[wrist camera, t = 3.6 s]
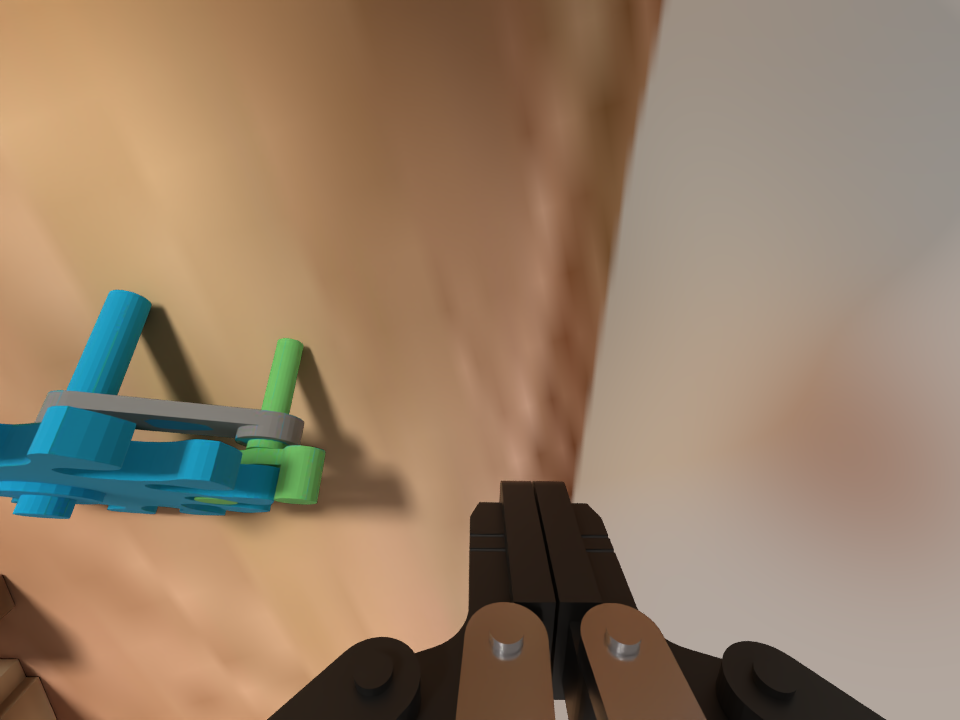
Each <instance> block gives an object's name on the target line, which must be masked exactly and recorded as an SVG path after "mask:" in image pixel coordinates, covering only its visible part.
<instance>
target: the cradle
mask: <svg viewBox="0 0 960 720" xmlns="http://www.w3.org/2000/svg"><path fill="white" fill-rule="evenodd" d="M14 607H15V605H14V602H13V600H12V598H11V595H10V593H9V591H8V588H7V586H6V583H5V581H4V579H3V576H2V575H0V619H1V618H2V617H4V616H5V615H6V614H7V613H8V612H9V611H10V610H11V609H12V608H14Z"/></svg>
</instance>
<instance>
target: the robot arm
mask: <svg viewBox="0 0 960 720" xmlns="http://www.w3.org/2000/svg"><path fill="white" fill-rule="evenodd" d="M554 700H565V702H566V708H567V713H568V719H569V720H886V719H884V718H883V717H881V716H880V715H878V714H877V713H875V712H874V711H872V710H871V709H869V708H867V707H866V706H864V705H863V704H861V703H860V702H858V701H857V700H855V699H854V698H852V697H851V696H849V695H848V694H846V693H845V692H843V691H842V690H840V689H839V688H837V687H836V686H834V685H833V684H831V683H830V682H828V681H827V680H825V679H824V678H822V677H820V676H819V675H818V674H816V673H815V672H813V671H812V670H810V669H808V668H807V667H805V666H804V665H802V664H801V663H799V662H798V661H796V660H795V659H793V658H792V657H790V656H789V655H787V654H785V653H783V652H782V651H780V650H778V649H776V648H774V647H771V646H769V645H766V644H762V643H758V642H752V641H742V642H738V643H734V644H732V645H731V646H729V647H728V648H727V649H726V651H725V652H724V654H723V658H722V659H720V658H717V657H713V656H710V655H707V654H703V653H700V652H697V651H693V650H690V649H687V648H684V647H681V646H678V645H676V644H674V643H672V642H670V641H668V640H666V639H665V638H664V636H663V634H662V633H661V631H660V629H659V628H658V627H657V626H656V624H655V623H654V622H653V621H652V620H651V619H650V618H648V617H647V616H646V615H645V614H643V613H641V612H640V611H638V609H637V607H636V604H635V602H634V599H633V596H632V594H631V592H630V589H629V587H628V584H627V581H626V579H625V576H624V574H623V571H622V569H621V566H620V564H619V561H618V559H617V557H616V554H615V553H614V549H613V546H612V544H611V542H610V539H609V538H608V534H607V531H606V529H605V526H604V524H603V521H602V519H601V517H600V516H599V515H598V514H597V513H596V512H595V511H594V510H593V509H592V508H591V507H590V506H589V505H588V504H583V503H579V504H578V503H571V502H570V499H569V496H568V492H567V489H566V486H565V483H564V482H553V481H533V482H531V481H501V483H500V501H499V503H492V502H479V504H478V505H477V507H476V508H475V510H474V511H473V513H472V515H471V516H470V551H469V612H468V616H467V619H466V621H465V623H464V625H463V626H462V628H461V629H460V631H459V632H458V633H457V634H456V635H455V636H454V637H452V638H451V639H450V640H448V641H447V642H445V643H443V644H441V645H439V646H436V647H433V648H430V649H427V650H424V651H421V652H417V653H414V652H413V650H412V649H411V648H410V647H409V646H408V645H406V644H405V643H403V642H402V641H399V640H397V639H393V638H389V637H376V638H371V639H367V640H364V641H361V642H359V643H357V644H355V645H354V646H352V647H350V648H349V649H348V650H347V651H345V652H344V653H343V654H342V655H341V656H339V657H338V658H337V659H336V660H335V661H334V662H333V663H331V664H330V665H329V666H328V667H327V668H326V669H325V670H323V671H322V672H321V673H320V674H319V675H318V676H317V677H315V678H314V679H313V680H312V681H311V682H310V683H309V684H307V685H306V686H305V687H304V688H303V689H302V690H301V691H299V692H298V693H297V694H296V695H295V696H294V697H293V698H291V699H290V700H289V701H288V702H287V703H286V704H285V705H283V706H282V707H281V708H280V709H279V710H278V711H276V712H275V713H274V714H273V715H272V716H271V717H270V718H268V719H267V720H555V712H554Z"/></svg>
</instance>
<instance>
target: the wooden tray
mask: <svg viewBox="0 0 960 720" xmlns="http://www.w3.org/2000/svg"><path fill="white" fill-rule="evenodd" d="M0 720H57V719H56V717H55V714H54V712H53V710H52V707H51V705H50V703H49V700H48V698H47V696H46V693H45V691H44V689H43V686H42V684H41V682H40V679H39V677H26V676H25V674H24V672H23V669H22V667H21V665H20V663H19V660H18V659H0Z"/></svg>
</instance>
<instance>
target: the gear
mask: <svg viewBox="0 0 960 720" xmlns="http://www.w3.org/2000/svg"><path fill="white" fill-rule="evenodd" d="M151 306H152V304H151V302H150V301H149V300H147V299H146V298H144V297H142V296H140V295H138V294H136V293H133V292H129V291H124V290H112V291H110V292H109V294H108V296H107V299H106V301H105V303H104V305H103V308H102V310H101V312H100V315H99V317H98V319H97V321H96V324H95V326H94V328H93V331H92V333H91V335H90V338H89V340H88V342H87V344H86V347H85V349H84V351H83V354H82V356H81V358H80V360H79V363H78V365H77V367H76V370H75V372H74V374H73V376H72V379H71V381H70V383H69V386H68V388H67V390H57V391H51V392H49V393H48V394H47V397H46V399H45V401H44V403H43V405H42V408H41V410H40V412H39V414H38V416H37V419H36V421H35V423H30V424H14V425H13V424H0V496H4V497H12V498H13V499H12V501H11V502H12V503H17V505H16V507H15V509H14V512H13V514H15V515H21V516H29V517H40V518H56V519H69V518H70V517H71V514H72V512H73V509H74V506H75V504H105V505H109V506H108V509H107V510H110V511H118V512H130V513H144V514H156V511H157V508H158V506H162V507H172V508H179V509H180V511H179V512H181V513H186V514H195V515H225V513H226V510H229V511H235V512H244V513H256V512H269V511H270V508H271V504H272V503H273V502H274V500H275V501H278V502H283V503H290V504H316V503H317V500H318V494H319V488H320V483H321V477H322V471H323V465H324V459H325V453H326V452H325V451H324V450H322V449H319V448H315V447H310V446H300V443H301V438H302V433H303V428H304V421H303V420H301V419H300V418H298V417H295V416H293V415H289V412H290V408H291V403H292V398H293V393H294V389H295V384H296V379H297V375H298V370H299V365H300V361H301V356H302V351H303V347H304V346H303V344H302V343H301V342H299V341H297V340H294V339H289V338H283V339H279V340H278V342H277V346H276V351H275V355H274V359H273V363H272V367H271V371H270V376H269V380H268V384H267V388H266V392H265V396H264V400H263V405H262V409H261V410H258V409H248V408H238V407H228V406H218V405H208V404H198V403H188V402H178V401H168V400H158V399H148V398H138V397H128V396H118V392H119V389H120V387H121V384H122V382H123V379H124V376H125V374H126V371H127V369H128V366H129V363H130V361H131V358H132V356H133V353H134V350H135V348H136V345H137V343H138V340H139V337H140V335H141V332H142V330H143V327H144V324H145V322H146V319H147V317H148V314H149V311H150V309H151ZM135 429H138V430H150V431H161V432H173V433H184V434H196V435H207V436H219V437H230V438H235V441H236V442H237V443H239V444H241V445H243V446H247V447H246V450H238V449H236V448H234V447H232V446H230V445H227V444H225V443H223V442H220V441H213V440H200V439H193V440H184V441H177V442H141V441H131V439H132V436H133V433H134V430H135Z"/></svg>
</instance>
